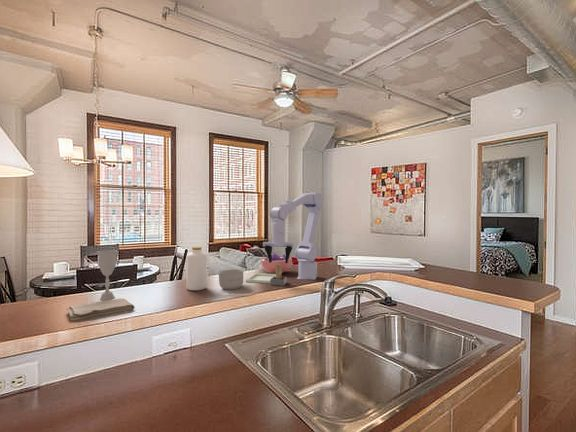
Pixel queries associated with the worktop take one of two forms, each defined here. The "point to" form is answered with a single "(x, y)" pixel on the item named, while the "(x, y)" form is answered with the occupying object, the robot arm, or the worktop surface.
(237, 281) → the teacup
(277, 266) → the dowel
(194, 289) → the potion bottle
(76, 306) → the washcloth
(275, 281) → the grey square box
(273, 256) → the cell model
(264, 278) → the tray
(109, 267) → the chalice
